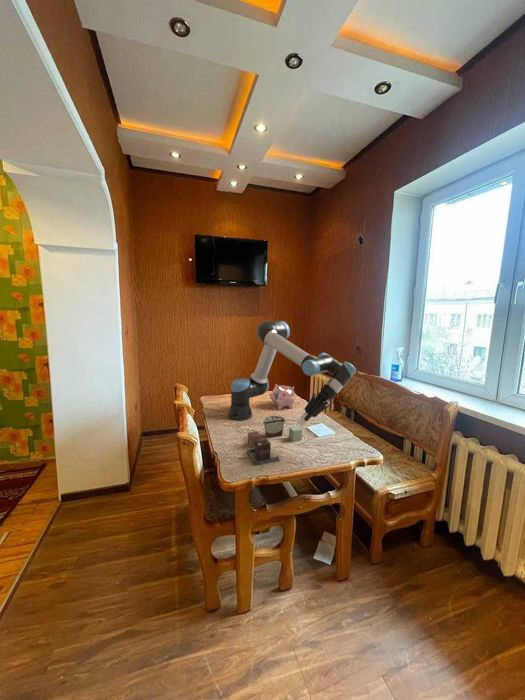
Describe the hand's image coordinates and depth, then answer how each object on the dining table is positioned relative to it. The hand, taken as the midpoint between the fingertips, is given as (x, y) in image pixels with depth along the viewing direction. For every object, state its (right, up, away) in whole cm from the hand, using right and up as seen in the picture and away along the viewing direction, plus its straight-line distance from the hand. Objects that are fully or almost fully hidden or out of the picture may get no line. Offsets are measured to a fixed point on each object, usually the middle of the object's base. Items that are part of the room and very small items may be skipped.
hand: (299, 424), depth 133 cm
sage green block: (0, -12, +15) cm, 19 cm away
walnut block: (-22, -12, +7) cm, 26 cm away
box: (-18, -14, -3) cm, 23 cm away
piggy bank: (-4, -4, +62) cm, 62 cm away
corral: (-18, -14, -4) cm, 23 cm away
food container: (-12, -11, +19) cm, 25 cm away
